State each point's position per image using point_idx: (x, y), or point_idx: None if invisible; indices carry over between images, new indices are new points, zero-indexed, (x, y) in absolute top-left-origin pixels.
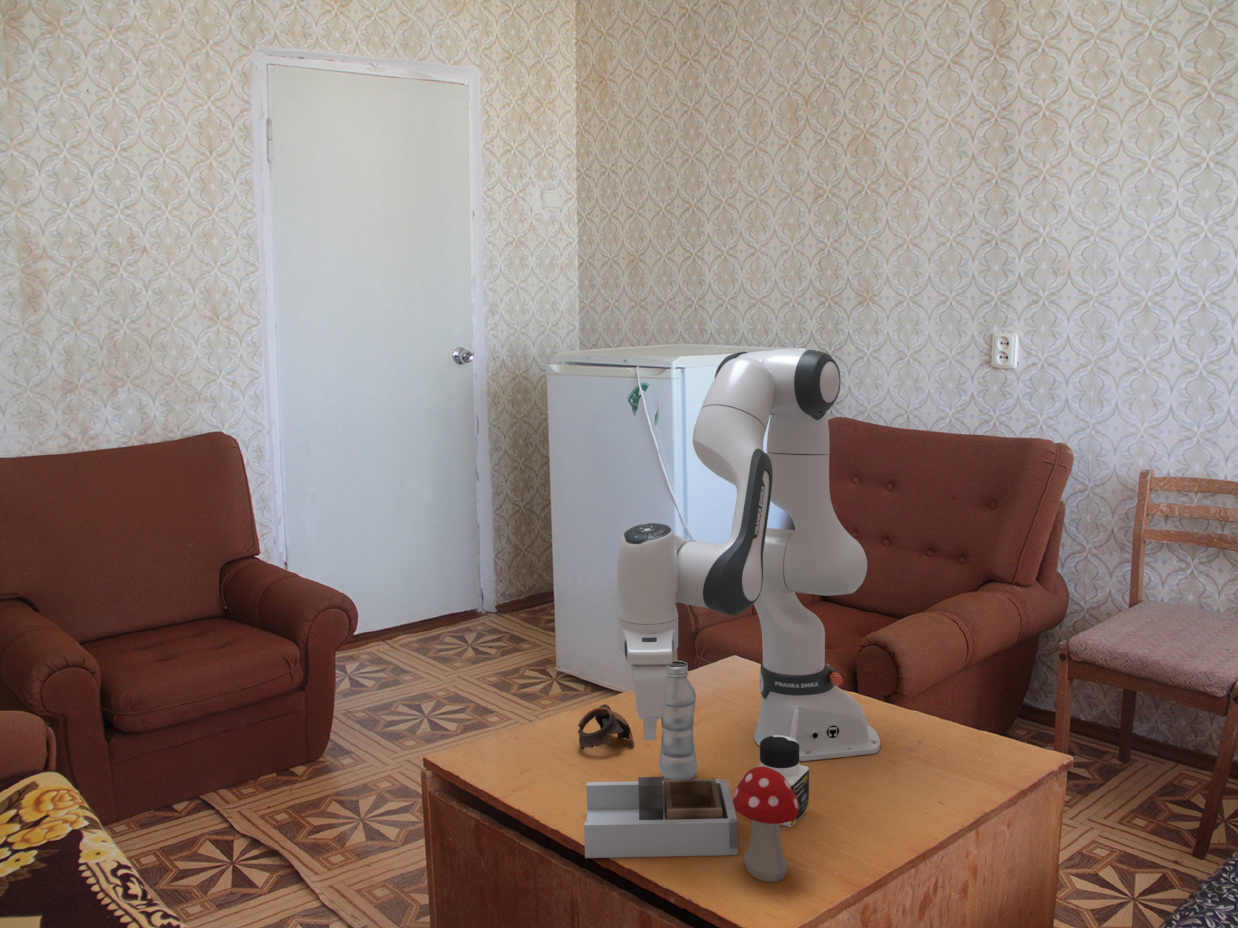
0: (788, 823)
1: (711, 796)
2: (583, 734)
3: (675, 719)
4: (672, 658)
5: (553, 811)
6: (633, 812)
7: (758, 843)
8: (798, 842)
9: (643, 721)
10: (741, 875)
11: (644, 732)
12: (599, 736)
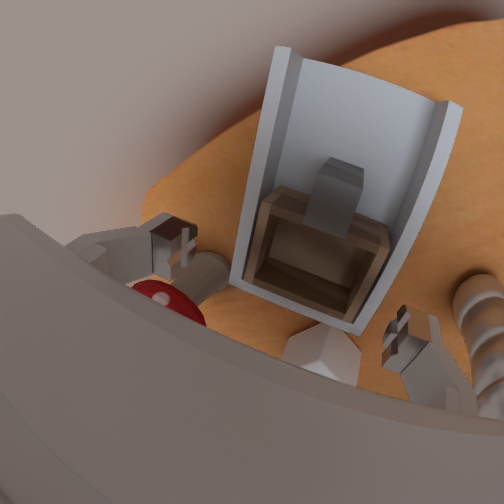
0: (290, 338)
1: (335, 296)
2: None
3: (486, 363)
4: None
5: (461, 60)
6: (400, 173)
7: (178, 276)
8: (258, 324)
9: (92, 235)
10: (206, 241)
11: (147, 222)
12: None
